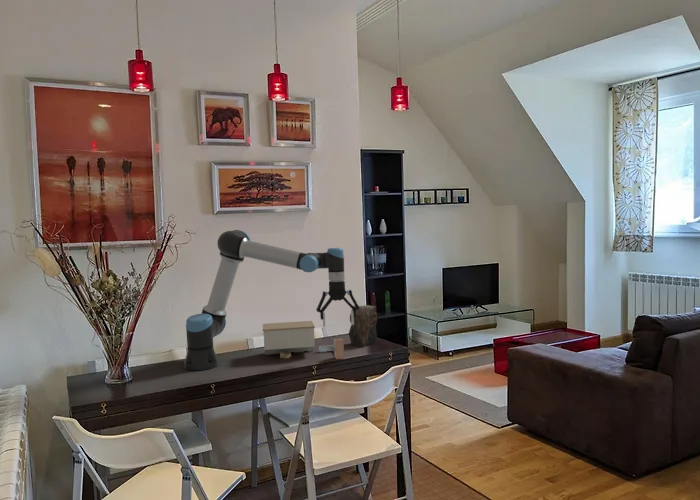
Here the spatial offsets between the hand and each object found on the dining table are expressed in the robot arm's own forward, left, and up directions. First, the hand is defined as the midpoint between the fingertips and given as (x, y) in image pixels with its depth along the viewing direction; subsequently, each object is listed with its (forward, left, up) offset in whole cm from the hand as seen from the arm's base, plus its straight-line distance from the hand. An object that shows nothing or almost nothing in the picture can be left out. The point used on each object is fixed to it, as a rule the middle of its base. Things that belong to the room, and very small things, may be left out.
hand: (338, 325), depth 256 cm
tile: (-25, +10, -16) cm, 31 cm away
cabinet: (-23, +13, -16) cm, 31 cm away
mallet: (-3, +6, -16) cm, 17 cm away
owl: (+16, +24, -16) cm, 33 cm away
